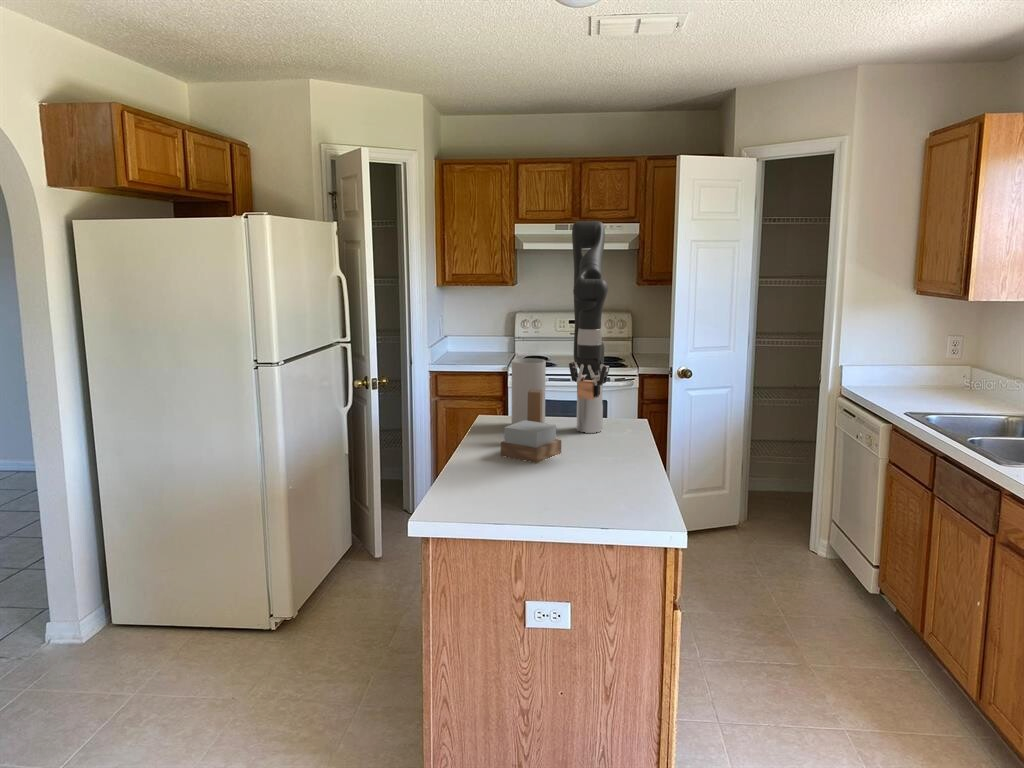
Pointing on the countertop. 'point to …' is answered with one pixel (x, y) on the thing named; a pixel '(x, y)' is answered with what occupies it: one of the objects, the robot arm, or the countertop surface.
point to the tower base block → (531, 451)
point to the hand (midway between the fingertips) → (588, 395)
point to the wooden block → (535, 406)
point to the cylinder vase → (526, 385)
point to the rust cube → (586, 389)
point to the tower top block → (530, 433)
